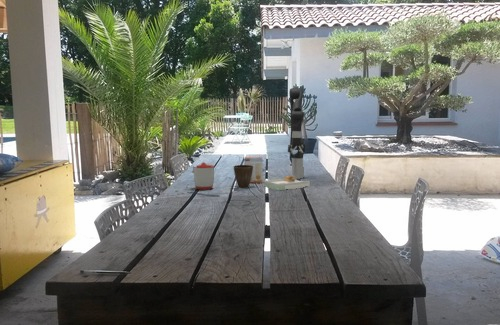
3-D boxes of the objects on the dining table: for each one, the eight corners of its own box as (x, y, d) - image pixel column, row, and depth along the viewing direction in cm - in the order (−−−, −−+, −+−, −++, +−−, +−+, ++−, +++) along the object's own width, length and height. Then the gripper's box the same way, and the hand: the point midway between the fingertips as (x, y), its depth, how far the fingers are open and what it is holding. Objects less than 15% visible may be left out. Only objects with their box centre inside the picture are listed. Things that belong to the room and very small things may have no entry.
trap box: (294, 183, 383) (294, 177, 383) (309, 187, 366) (309, 181, 366) (264, 186, 370) (264, 180, 369) (278, 190, 352) (278, 184, 352)
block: (291, 180, 378) (291, 175, 378) (294, 181, 374) (294, 176, 374) (284, 181, 375) (284, 176, 375) (288, 182, 371) (288, 176, 371)
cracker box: (262, 182, 390) (262, 156, 388) (261, 183, 384) (261, 157, 382) (245, 181, 392) (245, 156, 389) (244, 183, 386) (244, 157, 383)
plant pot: (251, 189, 359) (251, 167, 357) (231, 188, 362) (231, 167, 360) (254, 185, 373) (254, 165, 371) (236, 185, 376) (236, 164, 374)
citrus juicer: (197, 186, 372) (196, 160, 370) (217, 187, 366) (217, 161, 364) (187, 189, 357) (187, 162, 355) (209, 191, 352) (208, 163, 349)
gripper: (302, 136, 383) (301, 157, 384) (286, 137, 377) (286, 157, 379) (307, 137, 376) (306, 158, 377) (291, 137, 370) (290, 158, 372)
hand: (296, 157), depth 378 cm, fingers open, 8 cm apart
